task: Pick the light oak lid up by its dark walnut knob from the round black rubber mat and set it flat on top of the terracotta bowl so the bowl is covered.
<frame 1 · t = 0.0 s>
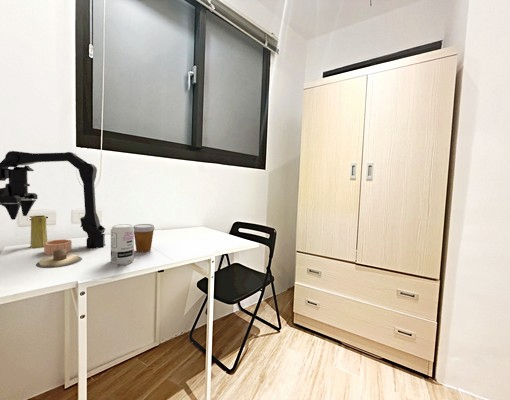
hand: (19, 217, 104), 15 cm above the table, tool pointing down, fingers open, 9 cm apart
disposable coffee cup: (143, 250, 115), on the table
vase: (39, 247, 112), on the table
bowl: (58, 253, 105), on the table
supplement can: (122, 262, 99), on the table
mat: (60, 262, 94), on the table
lid: (60, 261, 94), point 1 cm above the table, touching mat
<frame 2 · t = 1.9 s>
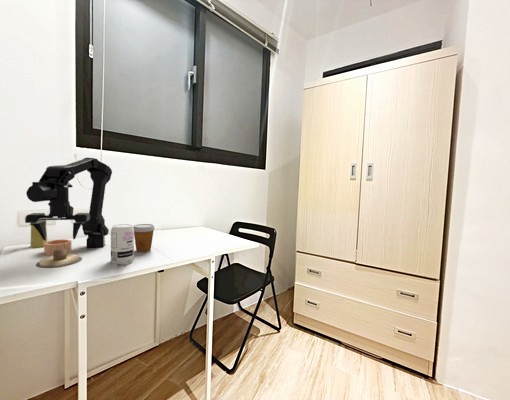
hand: (59, 239, 94), 9 cm above the table, tool pointing down, fingers open, 9 cm apart
nothing on the table moved.
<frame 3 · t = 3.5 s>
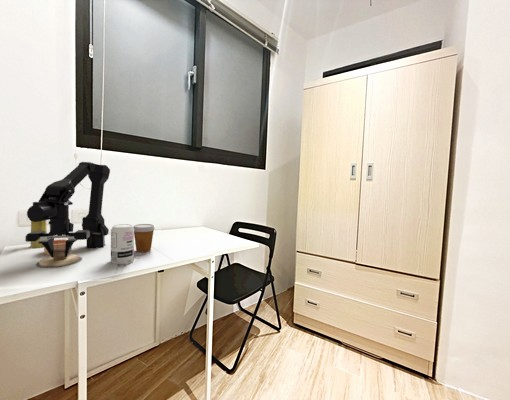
hand: (60, 257, 94), 2 cm above the table, tool pointing down, fingers closed on lid, 4 cm apart
lid: (60, 261, 94), point 1 cm above the table, touching gripper, mat
everything else where it was.
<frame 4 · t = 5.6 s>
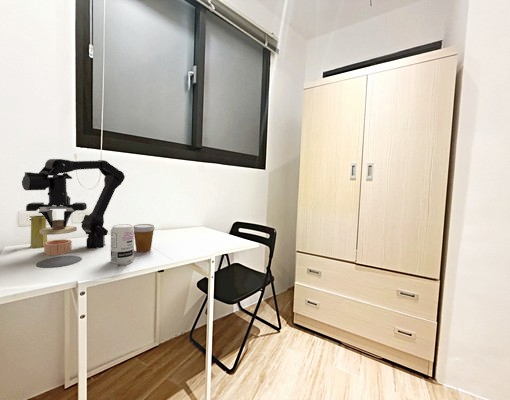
hand: (58, 227, 101), 12 cm above the table, tool pointing down, fingers closed on lid, 4 cm apart
lid: (58, 231, 101), point 11 cm above the table, touching gripper
everything else where it was.
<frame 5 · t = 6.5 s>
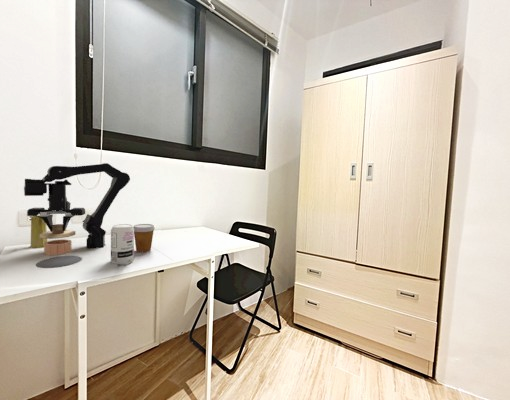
hand: (58, 231, 105), 10 cm above the table, tool pointing down, fingers closed on lid, 4 cm apart
lid: (58, 235, 105), point 8 cm above the table, touching gripper
everything else where it was.
when the fingers open (8 cm above the table, at t = 7.5 s): lid drops 1 cm, resting on bowl.
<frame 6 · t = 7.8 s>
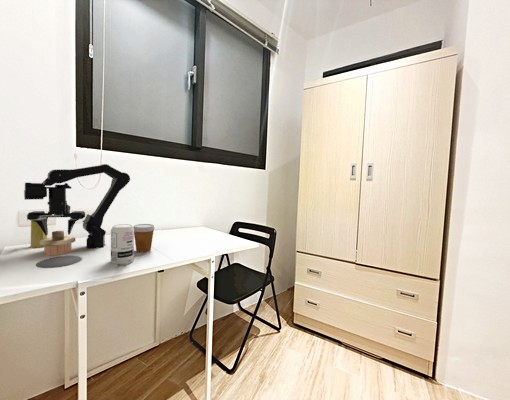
hand: (58, 234, 105), 8 cm above the table, tool pointing down, fingers open, 8 cm apart
bowl: (58, 253, 105), on the table, touching lid
lid: (58, 241, 105), point 5 cm above the table, touching bowl
everything else where it was.
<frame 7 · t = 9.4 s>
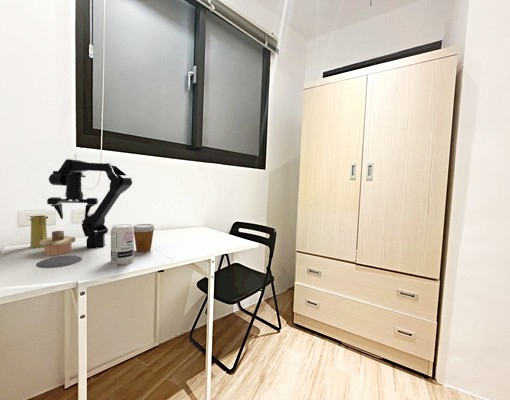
hand: (74, 218, 116), 13 cm above the table, tool pointing down, fingers open, 9 cm apart
bowl: (58, 253, 105), on the table
lid: (58, 241, 105), point 5 cm above the table
everything else where it was.
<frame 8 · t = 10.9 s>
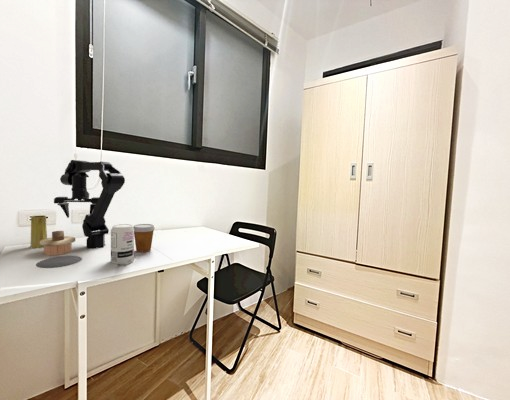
hand: (79, 217, 120), 13 cm above the table, tool pointing down, fingers open, 9 cm apart
nothing on the table moved.
at the end: lid 0.0 cm off-centre on the bowl, point 5.0 cm above the bowl's base; lid tilted 0°; the gripper is holding nothing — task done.
